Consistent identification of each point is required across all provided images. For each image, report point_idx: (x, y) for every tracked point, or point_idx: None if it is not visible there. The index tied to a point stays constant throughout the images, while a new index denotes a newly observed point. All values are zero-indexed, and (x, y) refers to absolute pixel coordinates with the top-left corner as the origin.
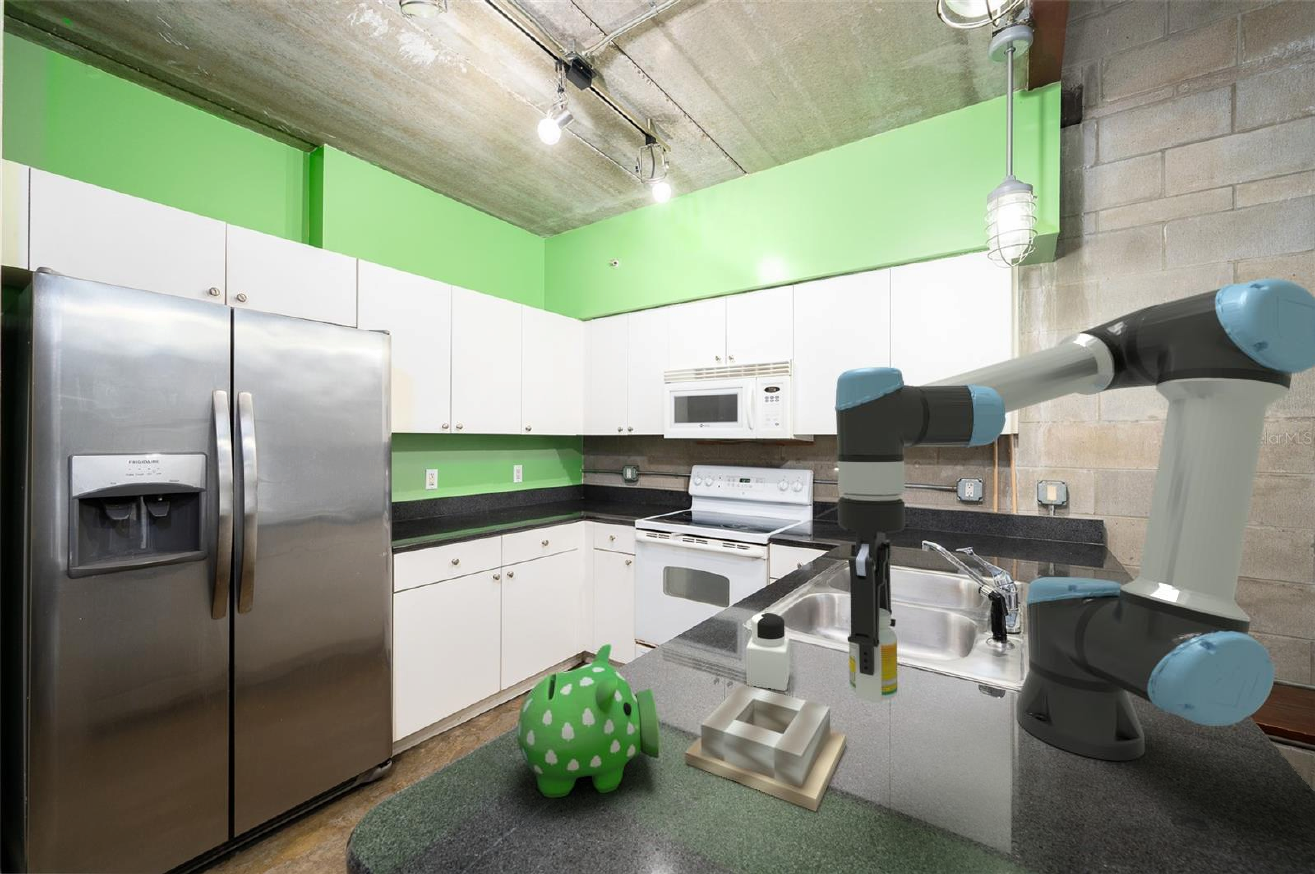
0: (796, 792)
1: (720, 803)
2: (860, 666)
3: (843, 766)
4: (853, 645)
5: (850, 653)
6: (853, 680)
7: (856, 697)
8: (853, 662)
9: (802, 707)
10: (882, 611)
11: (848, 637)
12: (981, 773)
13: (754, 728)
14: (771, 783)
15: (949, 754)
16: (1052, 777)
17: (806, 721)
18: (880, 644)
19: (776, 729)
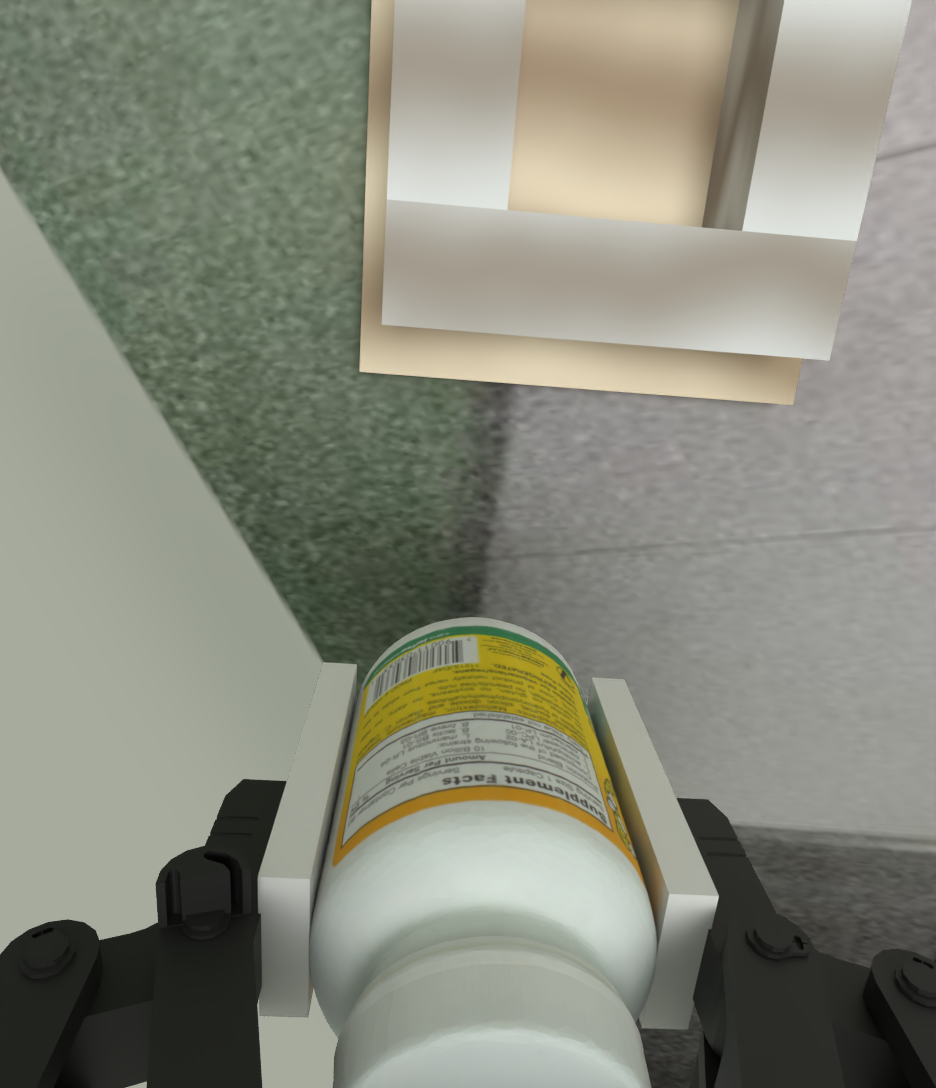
0: (362, 303)
1: (232, 36)
2: (222, 812)
3: (639, 409)
4: (368, 805)
5: (408, 735)
6: (387, 670)
7: (323, 664)
8: (379, 730)
9: (781, 239)
10: None
11: (157, 885)
12: (758, 766)
13: (497, 59)
14: (365, 205)
15: (831, 696)
16: (801, 903)
17: (658, 286)
18: (300, 1013)
19: (721, 122)
